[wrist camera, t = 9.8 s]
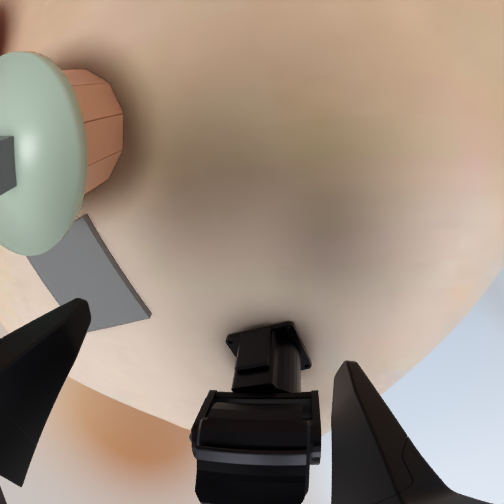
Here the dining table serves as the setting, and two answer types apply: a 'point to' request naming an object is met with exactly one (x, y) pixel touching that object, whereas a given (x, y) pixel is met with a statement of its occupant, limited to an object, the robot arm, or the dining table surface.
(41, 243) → the lid
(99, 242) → the mat
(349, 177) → the dining table surface
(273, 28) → the dining table surface
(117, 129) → the bowl
